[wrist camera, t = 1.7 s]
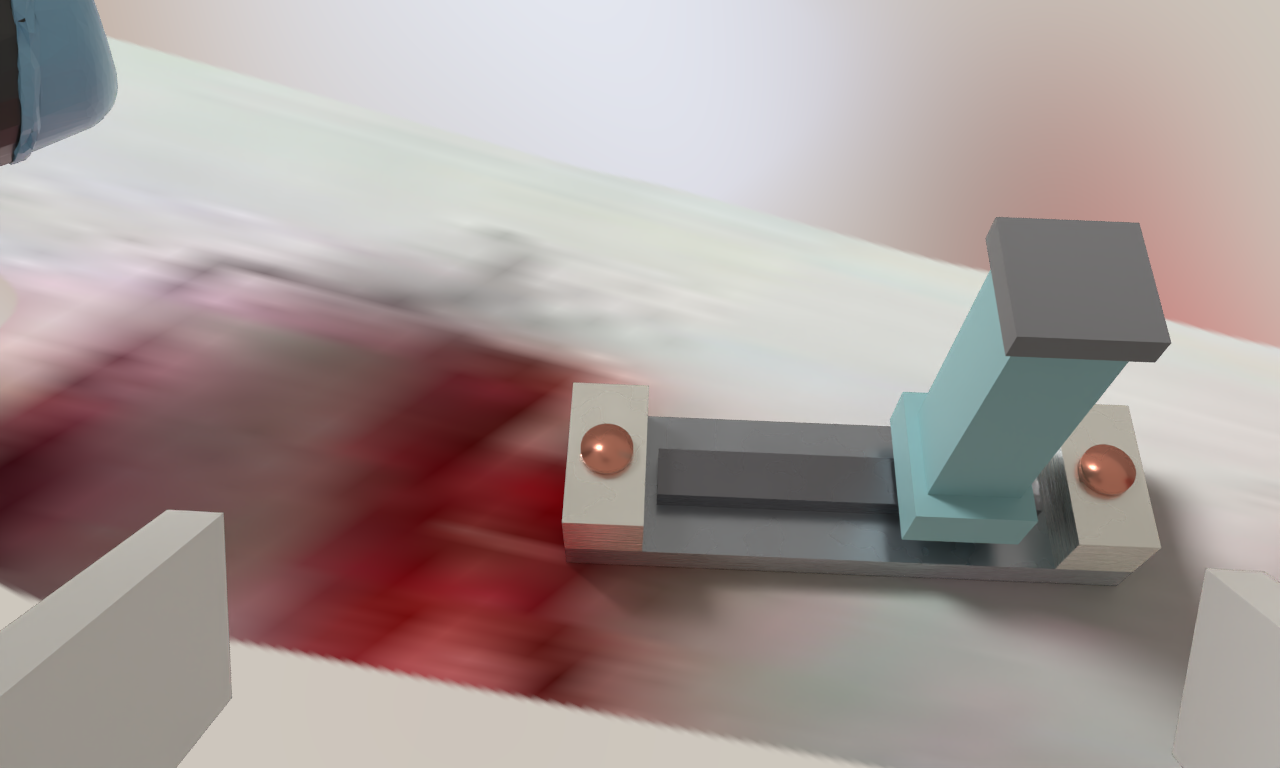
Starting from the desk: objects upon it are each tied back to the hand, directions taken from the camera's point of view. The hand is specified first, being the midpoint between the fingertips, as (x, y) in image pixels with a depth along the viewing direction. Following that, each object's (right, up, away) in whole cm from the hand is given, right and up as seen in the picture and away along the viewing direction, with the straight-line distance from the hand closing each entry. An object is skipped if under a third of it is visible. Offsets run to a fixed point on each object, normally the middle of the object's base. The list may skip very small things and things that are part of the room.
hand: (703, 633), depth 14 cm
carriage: (+11, 0, +27) cm, 29 cm away
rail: (+7, -2, +29) cm, 30 cm away
